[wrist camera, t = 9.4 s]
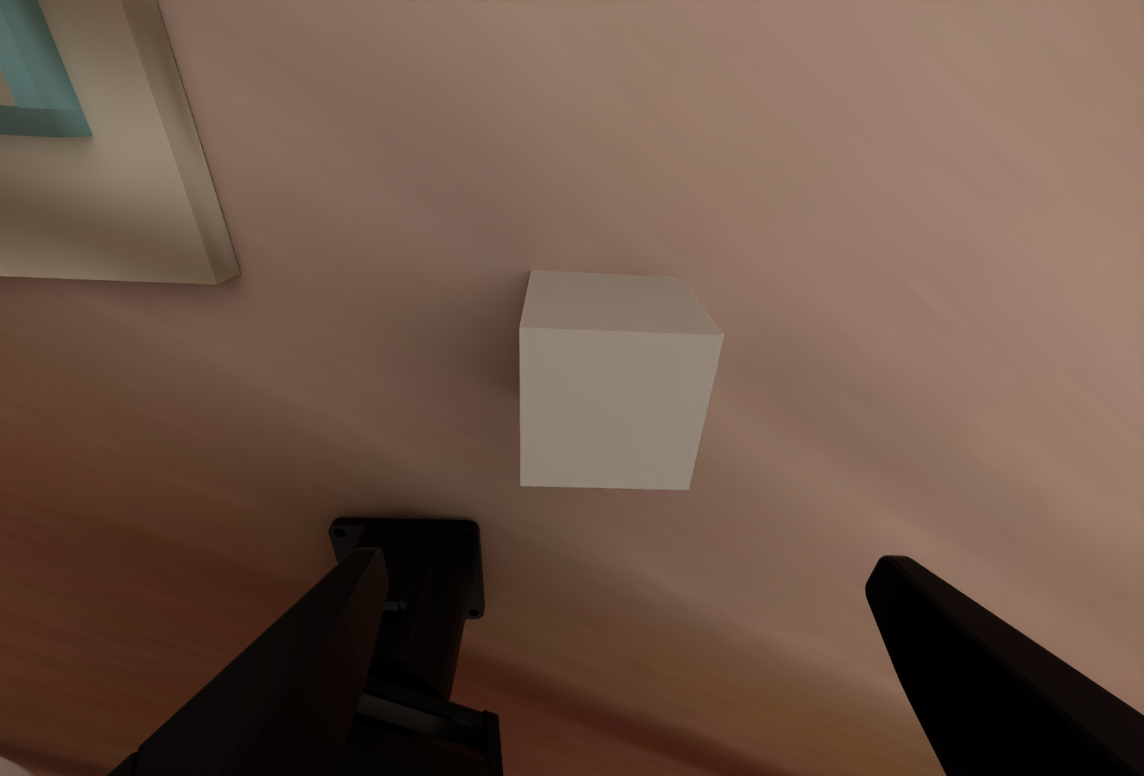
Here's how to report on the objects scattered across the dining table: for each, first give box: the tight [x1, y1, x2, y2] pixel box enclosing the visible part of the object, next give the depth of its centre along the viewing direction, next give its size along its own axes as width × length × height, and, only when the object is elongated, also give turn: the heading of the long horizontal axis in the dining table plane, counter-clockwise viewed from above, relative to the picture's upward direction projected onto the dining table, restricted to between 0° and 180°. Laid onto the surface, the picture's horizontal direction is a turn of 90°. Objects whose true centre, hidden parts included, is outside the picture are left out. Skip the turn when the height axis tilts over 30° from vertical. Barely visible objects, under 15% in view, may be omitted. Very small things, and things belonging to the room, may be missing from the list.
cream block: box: [519, 270, 724, 490], centre depth 15 cm, size 5×5×5 cm
